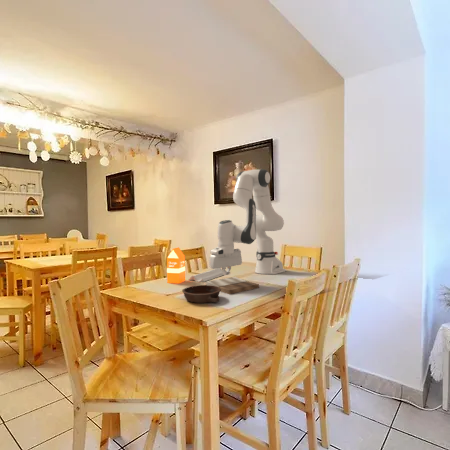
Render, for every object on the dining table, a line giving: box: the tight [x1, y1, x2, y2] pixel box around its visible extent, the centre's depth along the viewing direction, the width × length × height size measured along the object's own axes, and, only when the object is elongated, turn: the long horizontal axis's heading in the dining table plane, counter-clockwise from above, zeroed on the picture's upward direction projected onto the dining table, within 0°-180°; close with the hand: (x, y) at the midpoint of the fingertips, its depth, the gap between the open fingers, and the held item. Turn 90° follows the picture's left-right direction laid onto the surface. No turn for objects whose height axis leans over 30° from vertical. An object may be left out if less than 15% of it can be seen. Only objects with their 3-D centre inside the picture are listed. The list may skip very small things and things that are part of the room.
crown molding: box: [188, 268, 225, 283], centre depth 189 cm, size 31×12×4 cm, turn 149°
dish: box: [181, 284, 221, 304], centre depth 136 cm, size 18×22×5 cm
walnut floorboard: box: [219, 280, 260, 295], centre depth 154 cm, size 20×9×2 cm, turn 127°
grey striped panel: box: [205, 276, 247, 287], centre depth 162 cm, size 20×11×2 cm, turn 127°
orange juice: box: [166, 247, 186, 284], centre depth 175 cm, size 8×9×20 cm
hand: (226, 274), depth 163 cm, fingers closed
